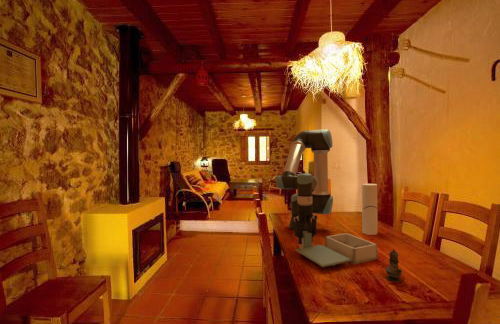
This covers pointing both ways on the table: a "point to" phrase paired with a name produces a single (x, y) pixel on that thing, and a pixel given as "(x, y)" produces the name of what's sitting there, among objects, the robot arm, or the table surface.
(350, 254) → the tub
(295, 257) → the table surface
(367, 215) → the container
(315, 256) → the lid
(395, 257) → the dark statuette
